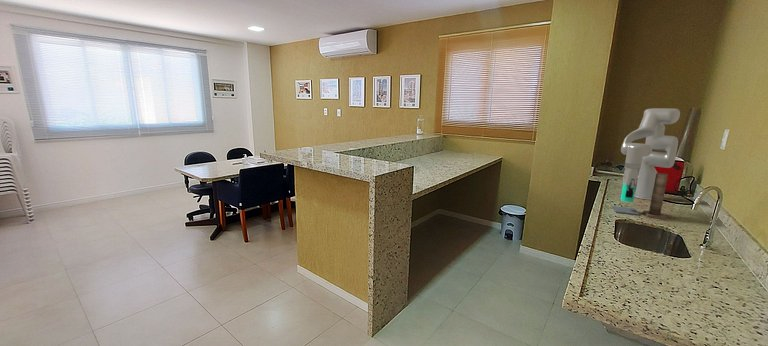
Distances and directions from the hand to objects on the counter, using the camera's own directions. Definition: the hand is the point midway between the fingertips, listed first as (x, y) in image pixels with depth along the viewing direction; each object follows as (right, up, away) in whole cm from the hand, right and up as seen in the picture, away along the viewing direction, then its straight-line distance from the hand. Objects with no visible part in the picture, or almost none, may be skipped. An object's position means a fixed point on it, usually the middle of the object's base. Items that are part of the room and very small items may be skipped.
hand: (627, 195), depth 186 cm
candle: (0, -3, +1) cm, 3 cm away
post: (+11, -11, -6) cm, 17 cm away
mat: (0, -9, +2) cm, 10 cm away
